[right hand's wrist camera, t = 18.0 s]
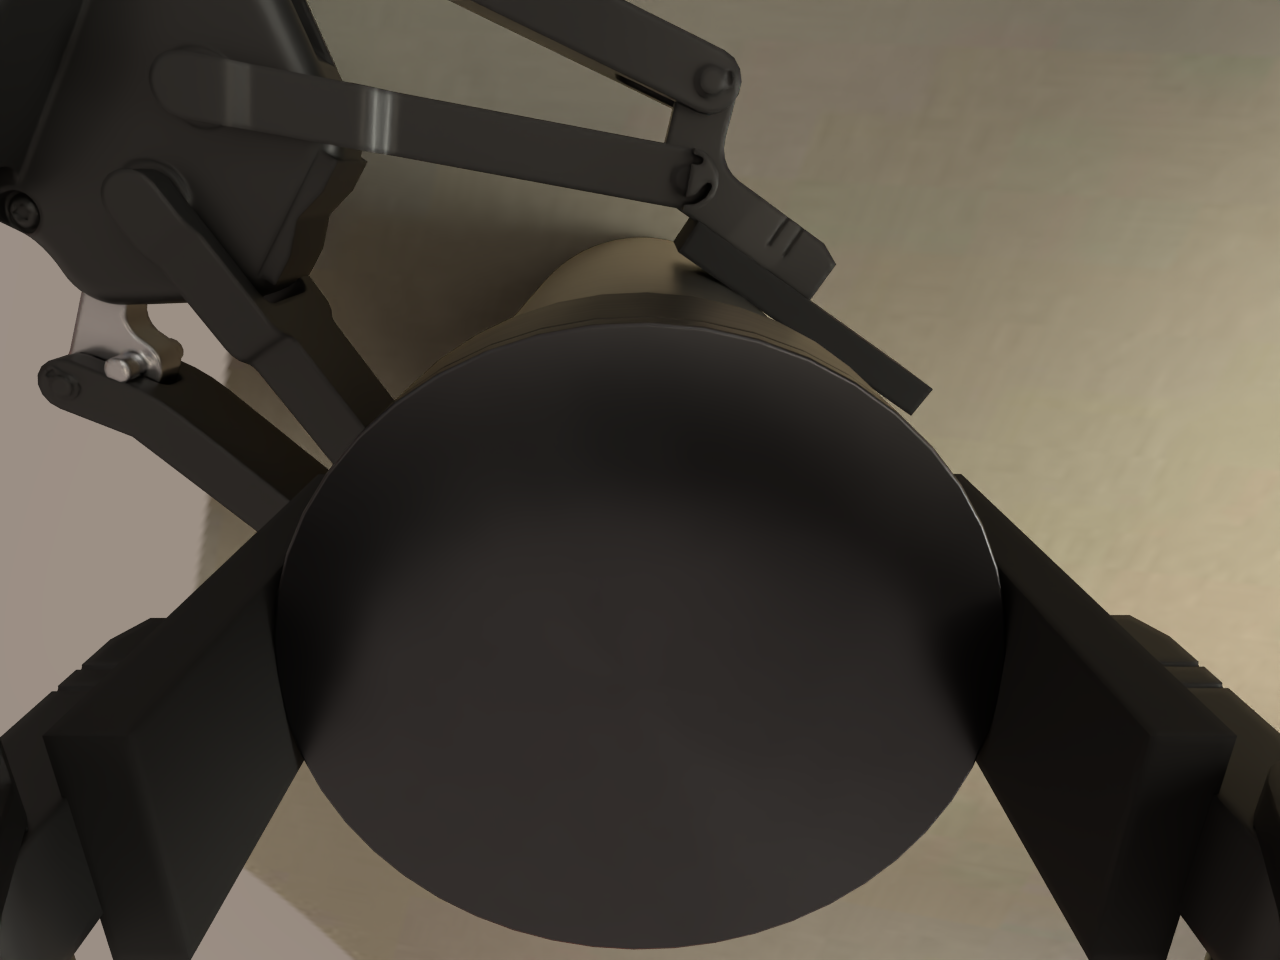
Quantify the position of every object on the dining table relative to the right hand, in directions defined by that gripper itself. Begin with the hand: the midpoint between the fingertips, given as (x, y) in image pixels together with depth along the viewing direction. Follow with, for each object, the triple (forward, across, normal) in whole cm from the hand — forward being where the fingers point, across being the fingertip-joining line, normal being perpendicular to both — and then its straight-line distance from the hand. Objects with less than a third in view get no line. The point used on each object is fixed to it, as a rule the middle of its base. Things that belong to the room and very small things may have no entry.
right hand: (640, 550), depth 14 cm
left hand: (+7, -4, +3) cm, 9 cm away
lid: (-3, 0, 0) cm, 3 cm away
